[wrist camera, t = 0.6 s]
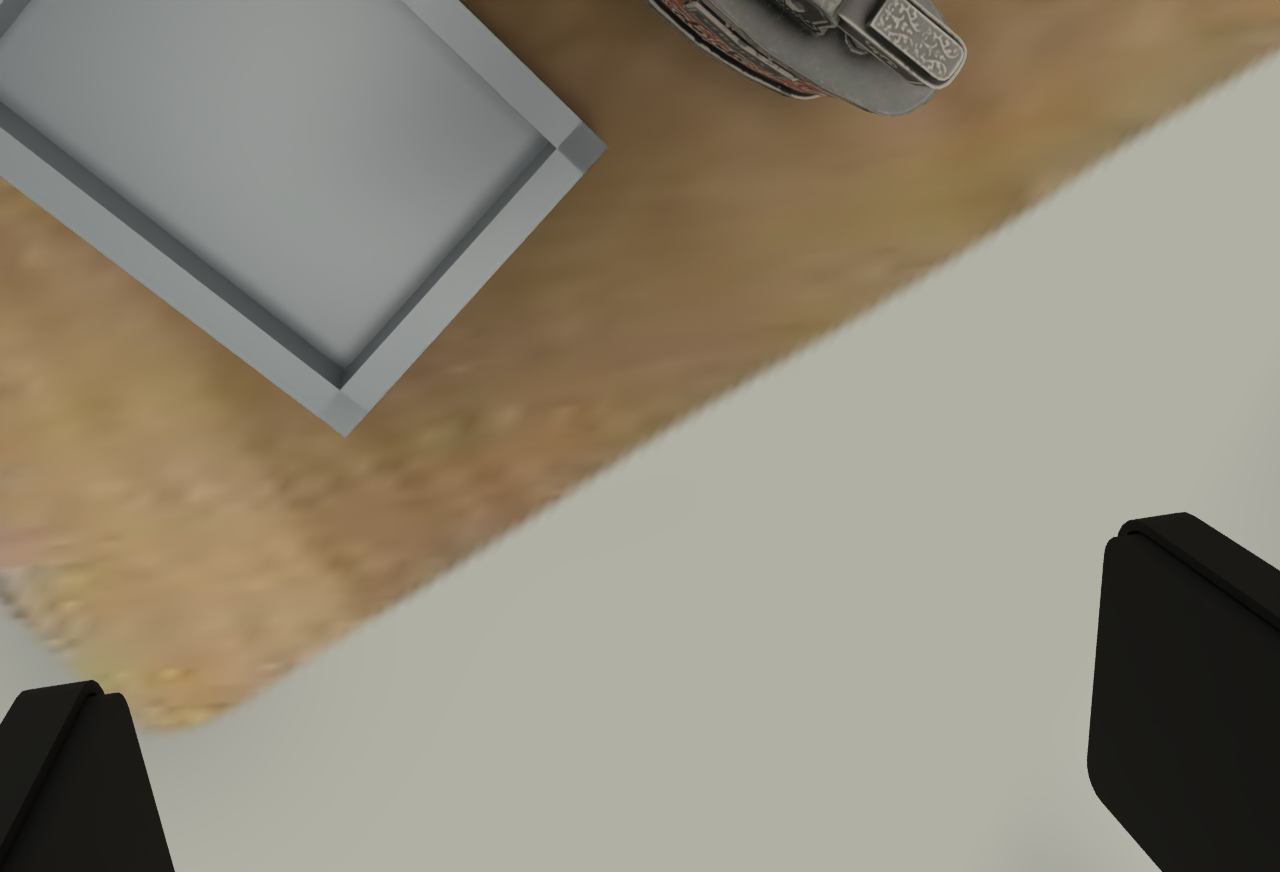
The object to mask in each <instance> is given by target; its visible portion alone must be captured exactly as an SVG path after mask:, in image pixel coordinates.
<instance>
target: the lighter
mask: <svg viewBox="0 0 1280 872" xmlns="http://www.w3.org/2000/svg"><path fill="white" fill-rule="evenodd" d="M643 1H644V2H645V3H646V5H647V6H648V7H649V8H650V9H651V10H652V11H654V12H655V13H656V14H657V15H658V16H659V17H660V18H662V19H663V20H664V21H665V22H666V23H667V24H669V25H670V26H671V27H672V28H673V29H674V30H675V31H677V32H678V33H679V34H680V35H681V36H682V37H683V38H685V39H686V40H687V41H688V42H689V43H690V44H692V45H693V46H694V47H696V48H698V49H699V50H701V51H702V52H704V53H705V54H707V55H708V56H710V57H712V58H713V59H715V60H716V61H718V62H719V63H721V64H723V65H724V66H726V67H727V68H729V69H730V70H732V71H734V72H735V73H737V74H738V75H741V76H743V77H745V78H747V79H749V80H751V81H753V82H755V83H758V84H760V85H762V86H764V87H766V88H768V89H770V90H773V91H775V92H777V93H779V94H781V95H783V96H788V97H793V98H797V99H803V100H806V99H811V98H816V97H819V96H826V97H832V98H838V99H841V100H843V101H845V102H847V103H850V104H852V105H854V106H856V107H858V108H860V109H862V110H864V111H867V112H871V113H876V114H881V115H886V116H891V117H894V116H899V115H904V114H909V113H911V112H913V111H914V110H916V109H918V108H919V107H921V106H923V105H924V104H926V103H927V102H928V100H929V99H930V98H931V97H932V96H933V95H934V94H935V93H936V92H937V91H938V90H939V89H942V88H944V87H946V86H948V85H949V84H950V83H951V82H952V81H953V79H954V78H955V77H956V76H957V74H958V73H959V71H960V70H961V68H962V66H963V64H964V63H965V61H966V56H967V49H966V46H965V43H964V42H963V41H962V40H961V38H960V37H959V36H958V35H957V34H955V33H954V32H953V31H952V30H951V29H949V27H948V25H947V23H946V20H945V18H944V17H943V15H942V14H941V13H940V12H939V10H938V9H937V8H936V6H935V5H934V4H933V3H932V1H931V0H643Z"/></svg>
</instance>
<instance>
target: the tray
mask: <svg viewBox="0 0 1280 872" xmlns="http://www.w3.org/2000/svg"><path fill="white" fill-rule="evenodd" d="M607 148H608V146H607V145H606V144H605V143H604V142H603V141H602V140H601V139H600V138H599V137H598V136H597V135H596V134H595V133H594V132H593V131H592V130H591V129H590V128H589V127H588V126H587V125H586V124H585V123H584V122H583V121H582V120H581V119H580V118H579V117H578V116H577V115H576V114H575V113H574V112H573V111H572V110H571V109H569V108H568V107H567V106H566V105H565V104H564V103H563V102H562V101H561V100H560V99H559V98H558V97H557V96H556V95H555V94H554V93H553V92H552V91H551V90H550V89H549V88H548V87H547V86H546V85H545V84H544V83H543V82H542V81H541V80H540V79H539V78H538V77H537V76H536V75H535V74H534V73H533V72H532V71H531V70H530V69H529V68H528V67H527V66H525V65H524V64H523V63H522V62H521V61H520V60H519V59H518V58H517V57H516V56H515V55H514V54H513V53H512V52H511V51H510V50H509V49H508V48H507V47H506V46H505V45H504V44H503V43H502V42H501V41H500V40H499V39H498V38H497V37H496V36H495V35H494V34H493V33H492V32H491V31H490V30H489V29H488V28H487V27H486V26H485V25H484V24H483V23H481V22H480V21H479V20H478V19H477V18H476V17H475V16H474V15H473V14H472V13H471V12H470V11H469V10H468V9H467V8H466V7H465V6H464V5H463V4H462V3H461V2H460V1H459V0H0V176H1V177H2V178H3V179H5V180H6V181H7V182H9V183H10V184H11V185H13V186H14V187H15V188H17V189H18V190H19V191H21V192H22V193H23V194H24V195H26V196H27V197H28V198H30V199H31V200H32V201H34V202H35V203H36V204H38V205H39V206H40V207H42V208H43V209H44V210H46V211H47V212H48V213H50V214H51V215H52V216H54V217H55V218H56V219H57V220H59V221H60V222H61V223H63V224H64V225H65V226H67V227H68V228H69V229H71V230H72V231H73V232H75V233H76V234H77V235H79V236H80V237H81V238H83V239H84V240H85V241H86V242H88V243H89V244H90V245H92V246H93V247H94V248H96V249H97V250H98V251H100V252H101V253H102V254H104V255H105V256H106V257H108V258H109V259H110V260H112V261H113V262H114V263H116V264H117V265H118V266H119V267H121V268H122V269H123V270H125V271H126V272H127V273H129V274H130V275H131V276H133V277H134V278H135V279H137V280H138V281H139V282H141V283H142V284H143V285H145V286H146V287H147V288H148V289H150V290H151V291H152V292H154V293H155V294H156V295H158V296H159V297H160V298H162V299H163V300H164V301H166V302H167V303H168V304H170V305H171V306H172V307H174V308H175V309H176V310H178V311H179V312H180V313H181V314H183V315H184V316H185V317H187V318H188V319H189V320H191V321H192V322H193V323H195V324H196V325H197V326H199V327H200V328H201V329H203V330H204V331H205V332H207V333H208V334H209V335H211V336H212V337H213V338H214V339H216V340H217V341H218V342H220V343H221V344H222V345H224V346H225V347H226V348H228V349H229V350H230V351H232V352H233V353H234V354H236V355H237V356H238V357H240V358H241V359H242V360H243V361H245V362H246V363H247V364H249V365H250V366H251V367H253V368H254V369H255V370H257V371H258V372H259V373H261V374H262V375H263V376H265V377H266V378H267V379H269V380H270V381H271V382H273V383H274V384H275V385H276V386H278V387H279V388H280V389H282V390H283V391H284V392H286V393H287V394H288V395H290V396H291V397H292V398H294V399H295V400H296V401H298V402H299V403H300V404H302V405H303V406H304V407H305V408H307V409H308V410H309V411H311V412H312V413H313V414H315V415H316V416H317V417H319V418H320V419H321V420H323V421H324V422H325V423H327V424H328V425H329V426H331V427H332V428H333V429H335V430H336V431H337V432H338V433H340V434H341V435H342V436H344V437H345V438H346V437H347V435H348V434H349V433H350V432H351V431H352V430H353V429H354V428H355V427H356V425H357V424H358V423H359V422H360V421H361V420H362V419H363V418H364V417H365V416H366V414H367V413H368V412H369V411H370V410H371V409H372V408H373V407H374V406H375V404H376V403H377V402H378V401H379V400H380V399H381V398H382V397H383V396H384V395H385V393H386V392H387V391H388V390H389V389H390V388H391V387H392V386H393V385H394V383H395V382H396V381H397V380H398V379H399V378H400V377H401V376H402V375H403V374H404V372H405V371H406V370H407V369H408V368H409V367H410V366H411V365H412V364H413V362H414V361H415V360H416V359H417V358H418V357H419V356H420V355H421V354H422V353H423V351H424V350H425V349H426V348H427V347H428V346H429V345H430V344H431V343H432V341H433V340H434V339H435V338H436V337H437V336H438V335H439V334H440V333H441V332H442V330H443V329H444V328H445V327H446V326H447V325H448V324H449V323H450V322H451V320H452V319H453V318H454V317H455V316H456V315H457V314H458V313H459V312H460V311H461V309H462V308H463V307H464V306H465V305H466V304H467V303H468V302H469V301H470V299H471V298H472V297H473V296H474V295H475V294H476V293H477V292H478V291H479V290H480V288H481V287H482V286H483V285H484V284H485V283H486V282H487V281H488V280H489V278H490V277H491V276H492V275H493V274H494V273H495V272H496V271H497V270H498V269H499V267H500V266H501V265H502V264H503V263H504V262H505V261H506V260H507V259H508V257H509V256H510V255H511V254H512V253H513V252H514V251H515V250H516V249H517V248H518V246H519V245H520V244H521V243H522V242H523V241H524V240H525V239H526V238H527V236H528V235H529V234H530V233H531V232H532V231H533V230H534V229H535V228H536V227H537V225H538V224H539V223H540V222H541V221H542V220H543V219H544V218H545V217H546V215H547V214H548V213H549V212H550V211H551V210H552V209H553V208H554V207H555V206H556V204H557V203H558V202H559V201H560V200H561V199H562V198H563V197H564V196H565V194H566V193H567V192H568V191H569V190H570V189H571V188H572V187H573V186H574V185H575V183H576V182H577V181H578V180H579V179H580V178H581V177H582V176H583V175H584V173H585V172H586V171H587V170H588V169H589V168H590V167H591V166H592V165H593V164H594V162H595V161H596V160H597V159H598V158H599V157H600V156H601V155H602V154H603V152H604V151H605V150H606V149H607Z"/></svg>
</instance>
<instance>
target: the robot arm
mask: <svg viewBox="0 0 1280 872" xmlns="http://www.w3.org/2000/svg"><path fill="white" fill-rule="evenodd" d="M1087 768H1088V773H1089V778H1090V781H1091V784H1092V787H1093V788H1094V791H1095V793H1096V795H1097V796H1098V798H1099V799H1100V800H1101V802H1102V803H1103V804H1104V805H1105V806H1106V807H1107V809H1108V810H1109V811H1110V812H1111V813H1112V814H1113V816H1114V817H1115V818H1116V819H1117V820H1118V821H1119V822H1120V823H1121V825H1122V826H1123V827H1124V828H1125V829H1126V831H1128V833H1129V834H1130V835H1131V836H1132V837H1133V839H1134V840H1135V841H1136V842H1137V843H1138V844H1139V846H1140V847H1141V848H1142V849H1143V850H1144V851H1145V852H1146V854H1147V855H1148V856H1149V857H1150V858H1151V859H1152V861H1153V862H1154V863H1155V864H1156V865H1157V866H1158V867H1159V868H1160V870H1161V871H1162V872H1280V571H1279V570H1278V569H1276V568H1275V567H1273V566H1271V565H1270V564H1268V563H1267V562H1265V561H1263V560H1262V559H1260V558H1259V557H1257V556H1256V555H1254V554H1253V553H1251V552H1250V551H1248V550H1246V549H1245V548H1243V547H1242V546H1240V545H1239V544H1237V543H1235V542H1234V541H1232V540H1231V539H1229V538H1228V537H1226V536H1225V535H1223V534H1221V533H1220V532H1218V531H1217V530H1215V529H1214V528H1212V527H1210V526H1209V525H1208V524H1206V523H1205V522H1203V521H1201V520H1200V519H1198V518H1197V517H1195V516H1193V515H1191V514H1189V513H1186V512H1182V513H1174V514H1167V515H1162V516H1155V517H1148V518H1141V519H1135V520H1129V521H1127V522H1126V523H1125V524H1123V525H1122V527H1121V529H1120V531H1119V533H1118V537H1113V538H1112V539H1110V540H1109V541H1108V543H1107V545H1106V548H1105V553H1104V563H1103V574H1102V586H1101V598H1100V610H1099V622H1098V634H1097V646H1096V658H1095V670H1094V682H1093V694H1092V706H1091V718H1090V730H1089V743H1088V755H1087ZM0 872H175V871H174V867H173V864H172V860H171V856H170V853H169V849H168V846H167V843H166V839H165V835H164V832H163V828H162V824H161V821H160V817H159V814H158V810H157V806H156V803H155V800H154V796H153V792H152V789H151V785H150V782H149V778H148V774H147V771H146V767H145V764H144V760H143V757H142V753H141V749H140V746H139V742H138V739H137V735H136V732H135V728H134V724H133V721H132V717H131V714H130V710H129V707H128V704H127V702H126V700H125V698H124V696H123V695H122V694H120V693H119V692H118V693H112V694H104V691H103V690H102V688H101V687H100V685H99V684H98V683H97V682H95V681H94V680H89V681H82V682H76V683H69V684H63V685H57V686H50V687H43V688H37V689H31V690H26V691H22V692H21V693H20V695H19V696H18V697H17V698H16V700H15V701H14V703H13V704H12V706H11V708H10V710H9V711H8V713H7V714H6V716H5V718H4V719H3V721H2V723H1V724H0Z"/></svg>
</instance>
